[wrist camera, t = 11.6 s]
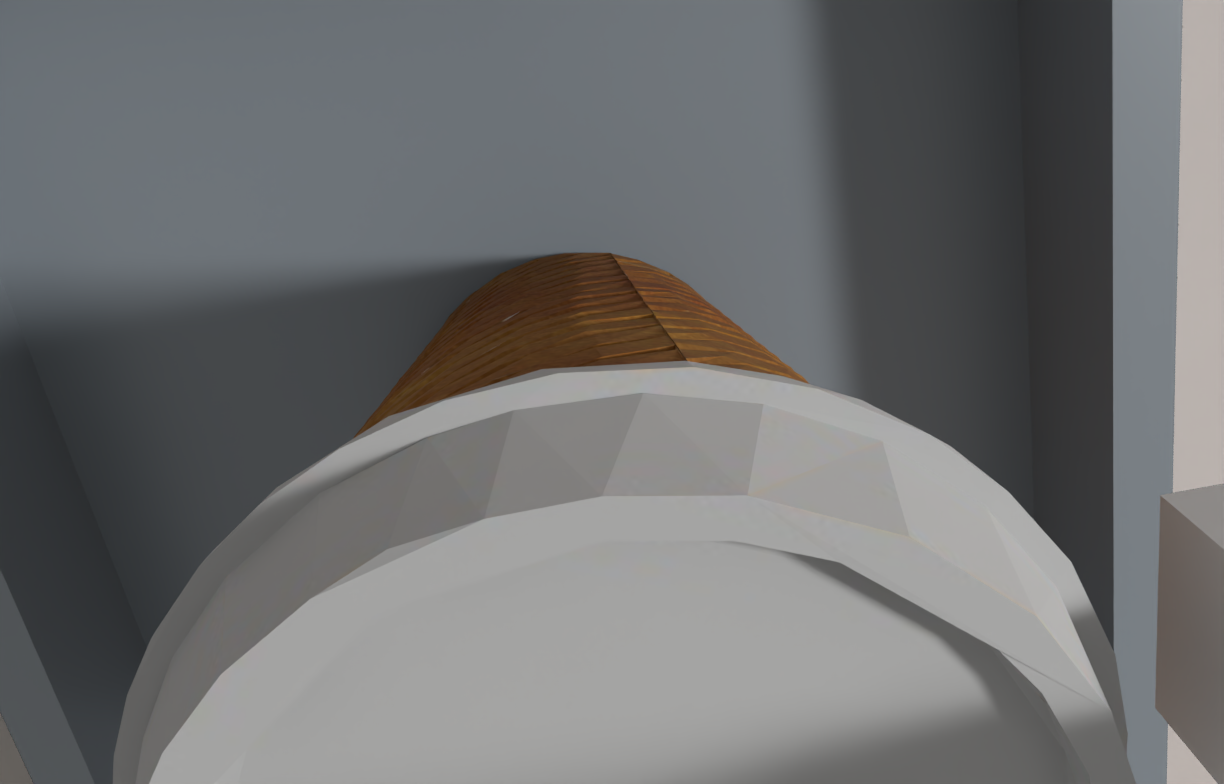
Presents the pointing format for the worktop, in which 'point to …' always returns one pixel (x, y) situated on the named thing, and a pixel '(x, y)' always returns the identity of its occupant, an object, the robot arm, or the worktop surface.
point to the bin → (551, 225)
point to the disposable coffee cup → (627, 580)
